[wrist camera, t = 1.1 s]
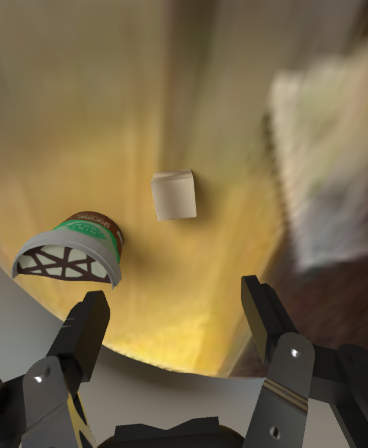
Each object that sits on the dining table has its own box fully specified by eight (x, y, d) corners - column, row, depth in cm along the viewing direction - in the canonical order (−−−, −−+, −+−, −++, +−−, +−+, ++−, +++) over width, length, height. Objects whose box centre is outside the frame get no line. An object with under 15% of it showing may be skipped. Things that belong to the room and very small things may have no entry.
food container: (135, 210, 32) (119, 247, 23) (132, 245, 34) (117, 290, 25) (48, 197, 30) (-6, 232, 21) (52, 234, 33) (6, 278, 24)
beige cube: (190, 168, 29) (193, 178, 25) (193, 202, 31) (196, 216, 27) (154, 172, 29) (150, 182, 25) (160, 206, 31) (157, 221, 27)
